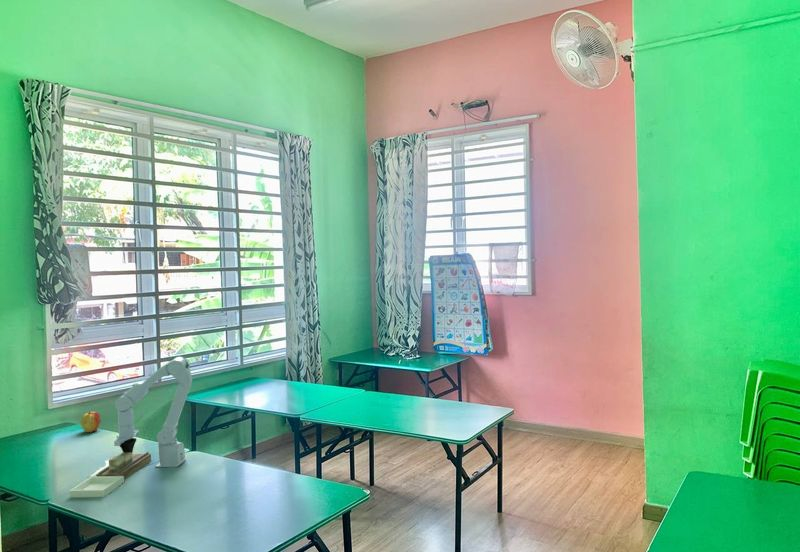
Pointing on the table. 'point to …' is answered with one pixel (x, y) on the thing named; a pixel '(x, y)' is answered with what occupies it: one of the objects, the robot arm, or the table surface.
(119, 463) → the chip front
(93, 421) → the apple
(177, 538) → the table surface
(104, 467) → the knife
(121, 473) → the slot block
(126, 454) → the beige cube
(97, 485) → the tray
